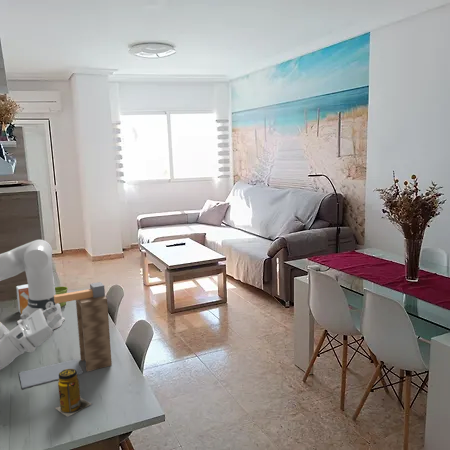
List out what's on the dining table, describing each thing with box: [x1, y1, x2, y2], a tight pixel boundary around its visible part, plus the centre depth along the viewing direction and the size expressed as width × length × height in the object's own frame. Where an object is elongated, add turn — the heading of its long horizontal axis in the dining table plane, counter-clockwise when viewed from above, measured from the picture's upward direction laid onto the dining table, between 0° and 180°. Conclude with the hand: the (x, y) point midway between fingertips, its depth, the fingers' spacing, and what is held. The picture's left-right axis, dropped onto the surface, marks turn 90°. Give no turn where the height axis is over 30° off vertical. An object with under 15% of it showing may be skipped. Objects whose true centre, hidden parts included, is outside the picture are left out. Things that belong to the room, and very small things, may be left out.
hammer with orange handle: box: [54, 281, 106, 304], centre depth 160 cm, size 17×5×4 cm, turn 119°
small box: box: [15, 283, 29, 315], centre depth 220 cm, size 8×6×13 cm
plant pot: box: [55, 286, 69, 308], centre depth 227 cm, size 9×9×9 cm
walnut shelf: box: [75, 295, 113, 372], centre depth 165 cm, size 9×11×26 cm
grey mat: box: [18, 358, 84, 390], centre depth 159 cm, size 20×12×1 cm, turn 119°
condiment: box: [54, 369, 92, 418], centre depth 138 cm, size 7×8×12 cm
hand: (58, 311), depth 157 cm, fingers open, 8 cm apart
